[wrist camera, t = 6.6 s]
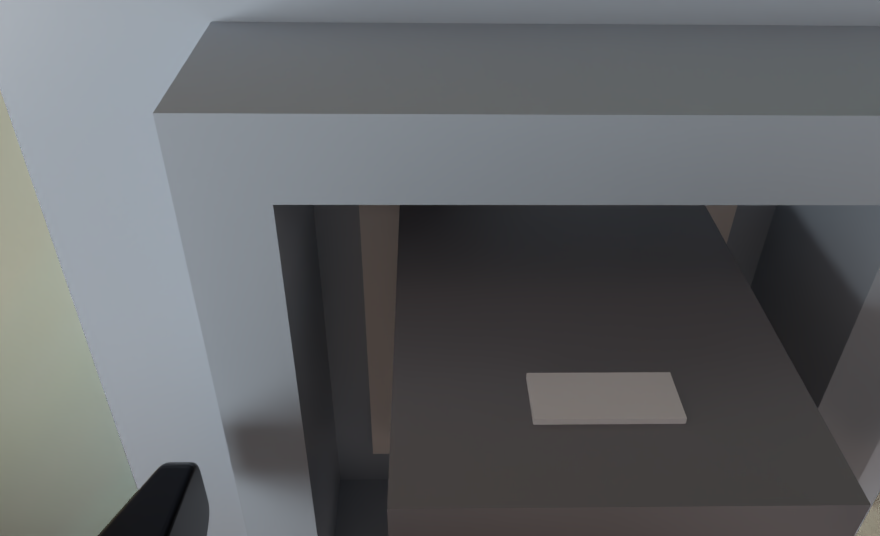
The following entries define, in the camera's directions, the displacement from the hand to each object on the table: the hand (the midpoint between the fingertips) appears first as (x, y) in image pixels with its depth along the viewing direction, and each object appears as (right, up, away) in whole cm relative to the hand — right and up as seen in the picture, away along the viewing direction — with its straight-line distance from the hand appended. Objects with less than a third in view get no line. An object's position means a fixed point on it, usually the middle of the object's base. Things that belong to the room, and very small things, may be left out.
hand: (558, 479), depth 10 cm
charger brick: (0, +2, +2) cm, 3 cm away
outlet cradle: (0, +2, +3) cm, 4 cm away
